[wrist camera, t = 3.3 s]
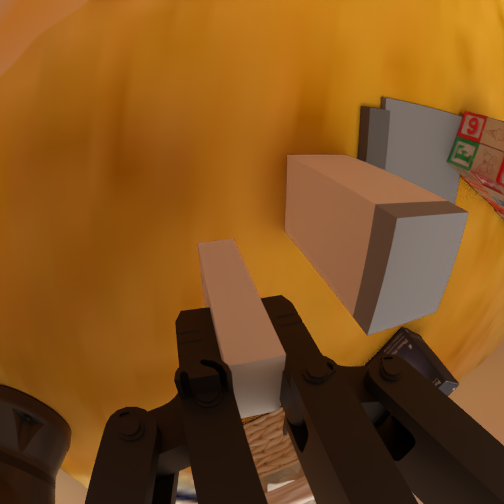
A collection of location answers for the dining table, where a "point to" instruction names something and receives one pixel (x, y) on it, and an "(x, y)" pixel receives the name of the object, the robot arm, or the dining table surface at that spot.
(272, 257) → the dining table surface
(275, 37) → the dining table surface
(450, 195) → the pad
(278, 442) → the storage basket
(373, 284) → the tall block
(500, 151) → the stack of blocks
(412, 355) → the small box
